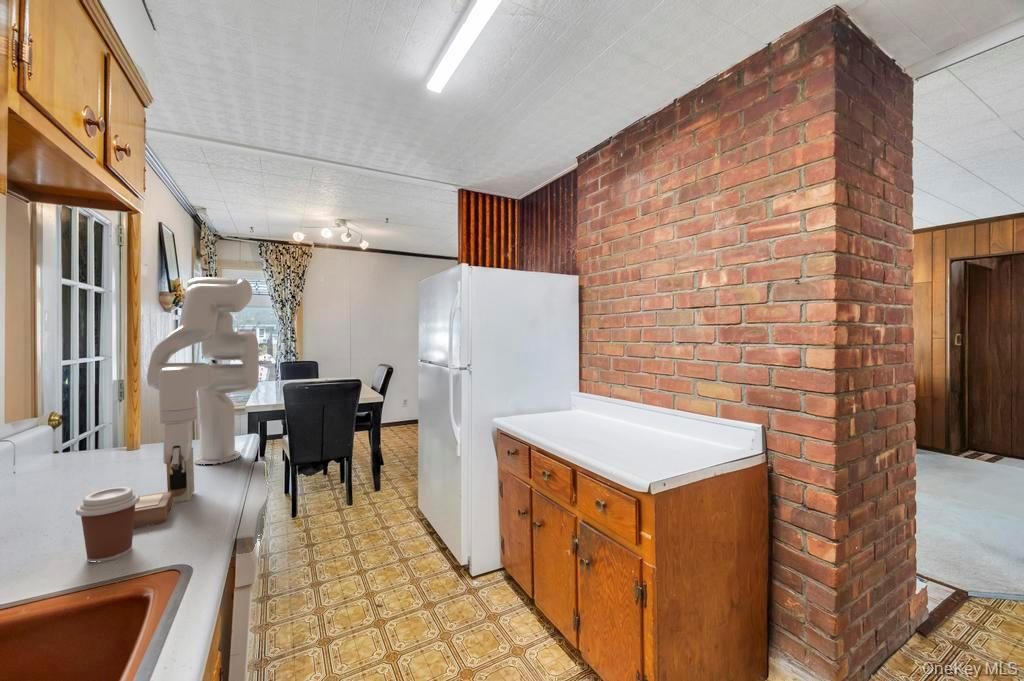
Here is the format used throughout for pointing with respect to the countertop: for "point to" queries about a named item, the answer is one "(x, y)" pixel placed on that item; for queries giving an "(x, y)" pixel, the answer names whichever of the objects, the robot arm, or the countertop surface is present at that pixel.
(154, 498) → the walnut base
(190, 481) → the skincare box
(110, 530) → the coffee cup
